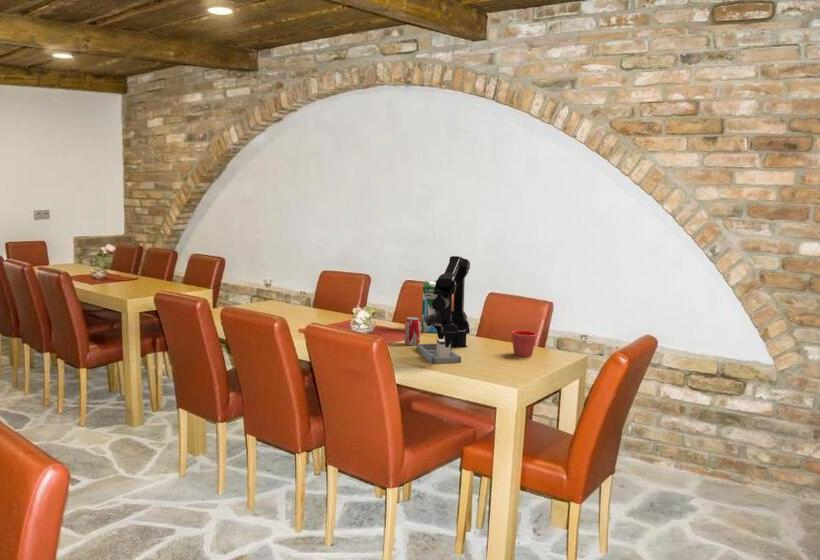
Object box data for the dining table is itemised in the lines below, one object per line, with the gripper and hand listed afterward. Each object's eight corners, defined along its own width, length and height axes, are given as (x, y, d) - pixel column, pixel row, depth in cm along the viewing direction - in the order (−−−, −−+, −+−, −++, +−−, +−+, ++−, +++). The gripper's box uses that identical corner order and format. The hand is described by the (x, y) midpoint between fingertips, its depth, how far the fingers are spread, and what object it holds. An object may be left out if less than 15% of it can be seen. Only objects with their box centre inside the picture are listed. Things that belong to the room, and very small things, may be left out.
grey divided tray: (442, 348, 310) (442, 341, 309) (460, 362, 285) (461, 354, 284) (415, 349, 307) (415, 341, 306) (431, 363, 282) (431, 355, 281)
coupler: (446, 357, 293) (447, 338, 292) (450, 360, 288) (450, 341, 287) (436, 357, 292) (436, 339, 291) (439, 360, 287) (439, 341, 286)
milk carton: (421, 332, 344) (422, 282, 341) (424, 328, 353) (425, 279, 350) (439, 333, 343) (441, 282, 340) (441, 329, 352) (443, 280, 349)
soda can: (418, 346, 313) (419, 320, 311) (403, 345, 314) (403, 319, 312) (421, 343, 319) (422, 317, 318) (406, 342, 321) (406, 316, 319)
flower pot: (538, 353, 305) (539, 331, 304) (531, 358, 295) (533, 336, 294) (514, 350, 309) (516, 329, 308) (507, 355, 299) (508, 333, 298)
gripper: (420, 304, 294) (419, 340, 296) (432, 311, 276) (430, 350, 278) (445, 304, 297) (444, 340, 299) (459, 311, 279) (457, 349, 281)
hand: (443, 344), depth 289 cm, fingers open, 9 cm apart
